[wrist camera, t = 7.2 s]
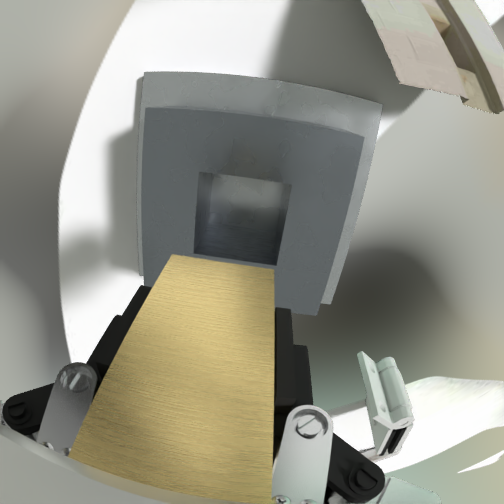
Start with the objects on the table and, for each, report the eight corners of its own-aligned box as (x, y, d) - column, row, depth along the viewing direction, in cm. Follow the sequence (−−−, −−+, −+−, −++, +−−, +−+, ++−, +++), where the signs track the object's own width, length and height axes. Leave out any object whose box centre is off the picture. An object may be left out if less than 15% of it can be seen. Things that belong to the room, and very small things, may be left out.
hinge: (355, 352, 35) (371, 416, 26) (395, 339, 34) (419, 401, 25) (365, 405, 41) (376, 458, 32) (397, 395, 40) (412, 447, 31)
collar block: (149, 72, 22) (110, 66, 15) (378, 104, 22) (413, 106, 16) (143, 269, 31) (116, 310, 25) (328, 297, 31) (340, 344, 25)
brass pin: (172, 254, 12) (47, 510, 3) (274, 269, 12) (268, 567, 3) (173, 329, 13) (104, 537, 5) (258, 343, 13) (242, 567, 5)
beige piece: (310, 19, 22) (362, 135, 18) (325, -53, 14) (414, 39, 10) (441, 44, 23) (505, 149, 19) (470, -6, 14) (558, 101, 11)
